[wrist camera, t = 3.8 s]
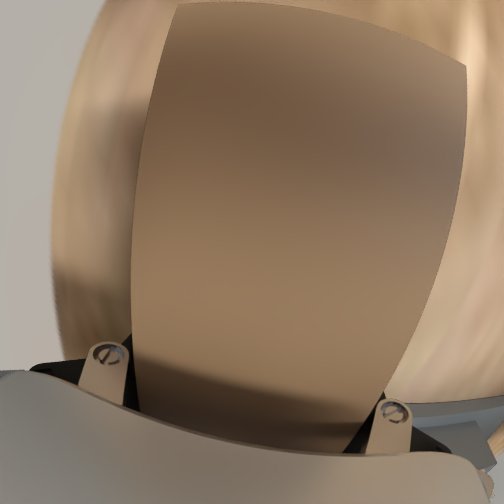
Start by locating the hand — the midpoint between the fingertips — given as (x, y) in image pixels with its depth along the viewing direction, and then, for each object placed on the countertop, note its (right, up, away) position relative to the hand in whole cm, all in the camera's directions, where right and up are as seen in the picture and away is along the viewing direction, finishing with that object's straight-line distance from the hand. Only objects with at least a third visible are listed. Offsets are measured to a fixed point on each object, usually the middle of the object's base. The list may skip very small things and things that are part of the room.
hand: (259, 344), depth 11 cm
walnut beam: (0, 0, +1) cm, 1 cm away
